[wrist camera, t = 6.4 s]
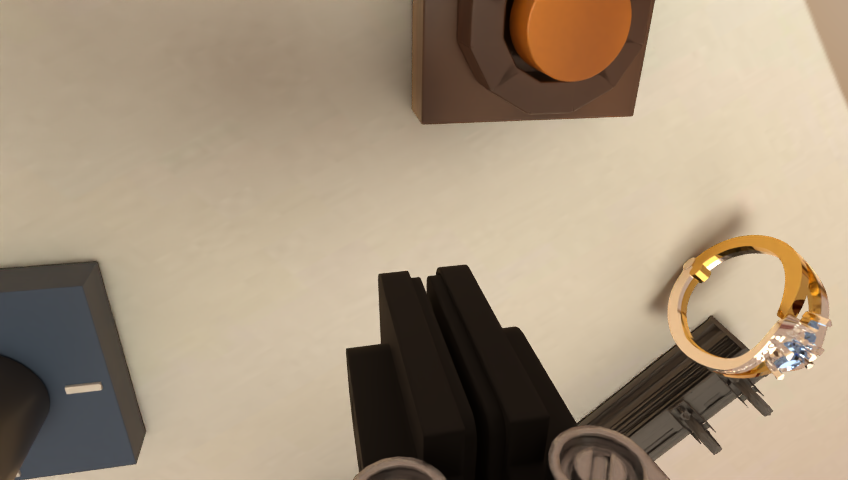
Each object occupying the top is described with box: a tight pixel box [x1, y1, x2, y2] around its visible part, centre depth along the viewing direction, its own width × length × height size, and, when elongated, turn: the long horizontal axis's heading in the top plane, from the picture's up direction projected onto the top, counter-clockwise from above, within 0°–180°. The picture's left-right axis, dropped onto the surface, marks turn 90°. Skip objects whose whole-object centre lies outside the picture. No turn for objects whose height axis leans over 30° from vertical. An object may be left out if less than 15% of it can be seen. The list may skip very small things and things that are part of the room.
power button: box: [509, 0, 632, 82], centre depth 19 cm, size 4×4×2 cm
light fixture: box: [578, 316, 773, 461], centre depth 33 cm, size 3×15×6 cm, turn 133°
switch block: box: [412, 0, 655, 124], centre depth 21 cm, size 9×8×4 cm
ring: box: [667, 235, 832, 380], centre depth 27 cm, size 7×3×8 cm, turn 141°
